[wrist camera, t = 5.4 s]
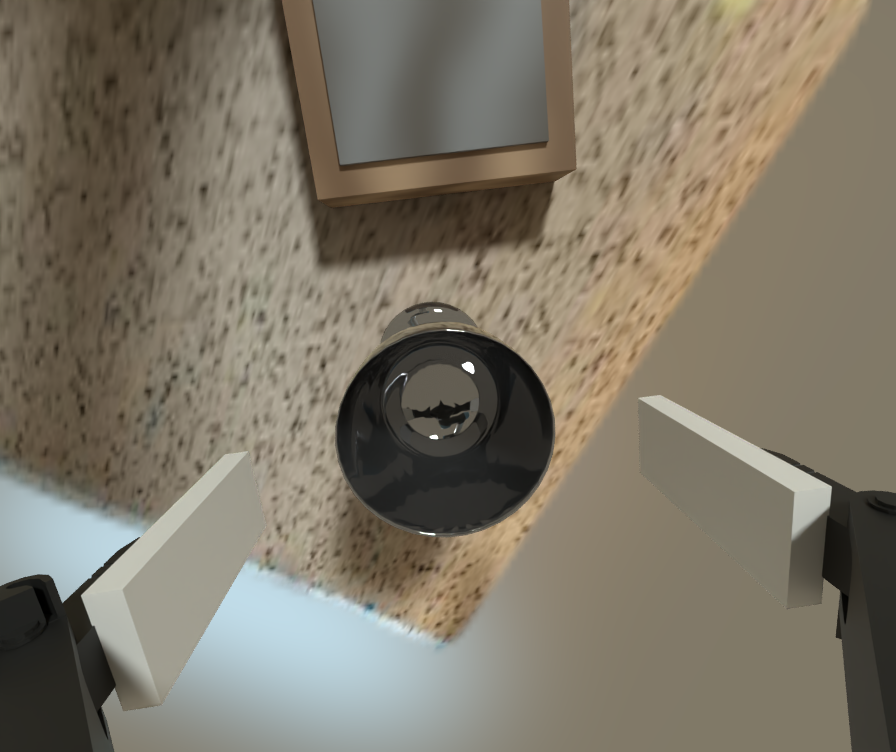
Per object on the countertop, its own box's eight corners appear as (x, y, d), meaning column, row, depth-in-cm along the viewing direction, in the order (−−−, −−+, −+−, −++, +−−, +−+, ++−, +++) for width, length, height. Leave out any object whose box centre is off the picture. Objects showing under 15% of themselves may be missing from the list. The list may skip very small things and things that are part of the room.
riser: (331, 207, 28) (316, 198, 24) (283, -66, 25) (256, -132, 20) (554, 181, 29) (578, 168, 24) (539, -92, 25) (563, -161, 21)
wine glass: (491, 294, 30) (561, 326, 16) (490, 409, 32) (551, 532, 18) (369, 296, 30) (325, 332, 15) (376, 413, 32) (342, 543, 17)
